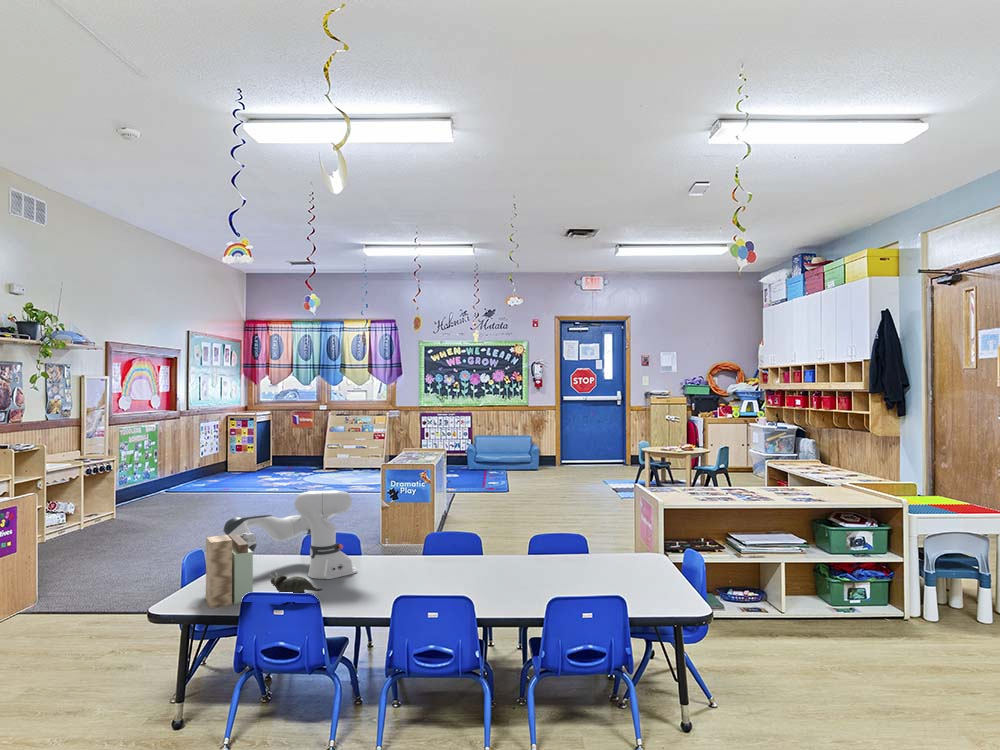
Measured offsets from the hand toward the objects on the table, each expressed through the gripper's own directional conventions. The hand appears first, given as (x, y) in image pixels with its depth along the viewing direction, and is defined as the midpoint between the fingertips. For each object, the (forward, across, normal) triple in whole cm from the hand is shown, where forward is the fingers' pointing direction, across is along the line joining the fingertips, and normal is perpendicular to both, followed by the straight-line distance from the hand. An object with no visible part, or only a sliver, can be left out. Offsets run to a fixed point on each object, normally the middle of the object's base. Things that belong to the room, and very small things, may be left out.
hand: (234, 536), depth 278 cm
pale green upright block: (-2, 0, -26) cm, 26 cm away
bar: (+4, 0, -6) cm, 8 cm away
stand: (-1, +8, -27) cm, 28 cm away
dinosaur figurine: (+12, -18, -35) cm, 41 cm away
